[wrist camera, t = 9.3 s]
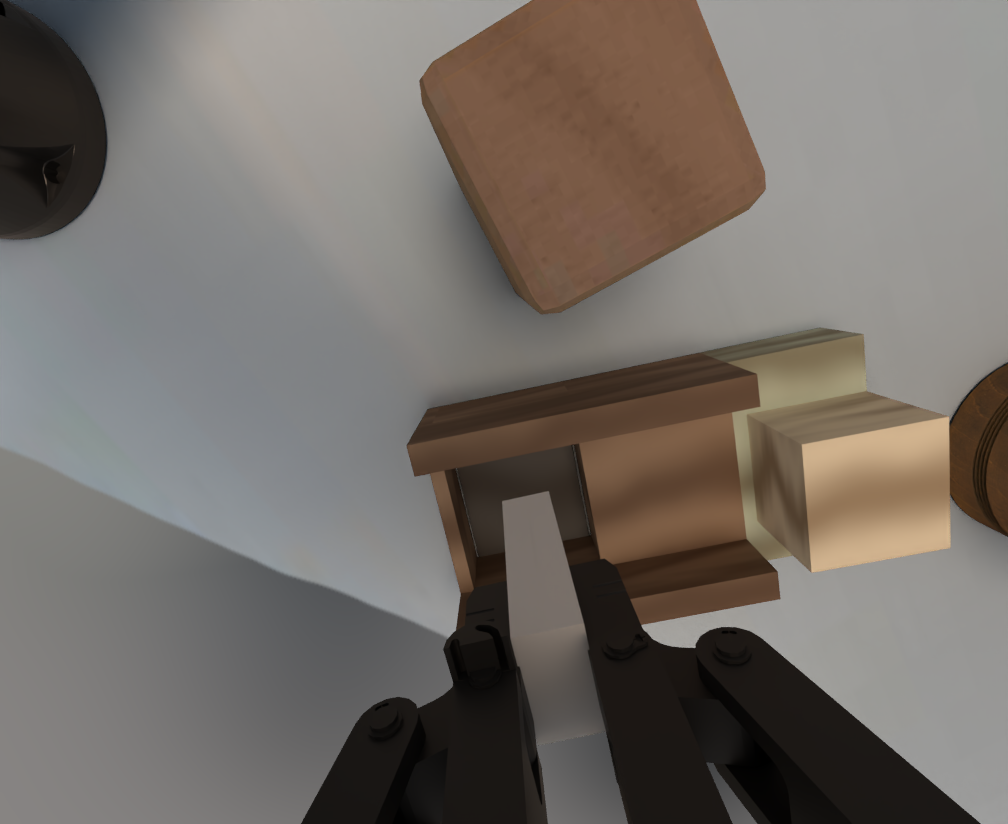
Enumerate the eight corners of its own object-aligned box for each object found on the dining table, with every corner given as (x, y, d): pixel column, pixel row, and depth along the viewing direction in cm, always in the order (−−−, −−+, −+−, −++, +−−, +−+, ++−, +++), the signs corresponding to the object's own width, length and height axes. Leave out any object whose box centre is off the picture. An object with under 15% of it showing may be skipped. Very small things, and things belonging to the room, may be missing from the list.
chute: (427, 409, 42) (406, 445, 33) (820, 327, 41) (913, 341, 31) (470, 580, 45) (462, 657, 36) (833, 511, 44) (921, 572, 35)
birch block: (746, 414, 37) (801, 444, 30) (865, 391, 37) (949, 416, 30) (757, 521, 39) (811, 572, 32) (870, 500, 38) (950, 547, 32)
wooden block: (582, 100, 37) (670, -101, 17) (644, 235, 39) (786, 191, 20) (453, 175, 38) (403, 66, 19) (521, 304, 40) (539, 326, 21)
